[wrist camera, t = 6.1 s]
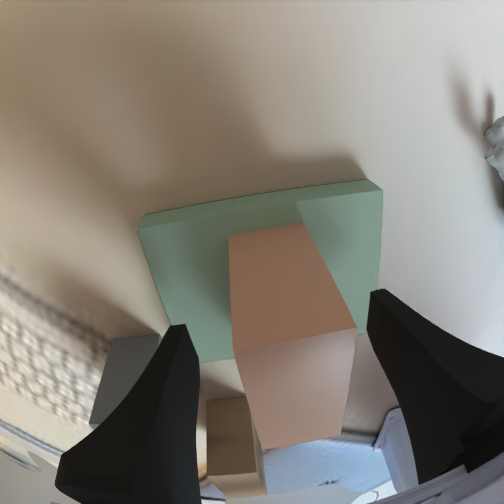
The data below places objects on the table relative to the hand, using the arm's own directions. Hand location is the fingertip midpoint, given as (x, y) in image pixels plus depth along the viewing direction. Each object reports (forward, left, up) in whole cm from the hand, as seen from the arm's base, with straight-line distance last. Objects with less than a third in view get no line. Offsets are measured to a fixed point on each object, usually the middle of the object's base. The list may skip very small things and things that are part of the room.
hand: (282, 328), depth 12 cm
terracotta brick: (0, 0, -2) cm, 2 cm away
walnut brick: (-13, +4, -4) cm, 14 cm away
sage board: (0, 0, -4) cm, 4 cm away
